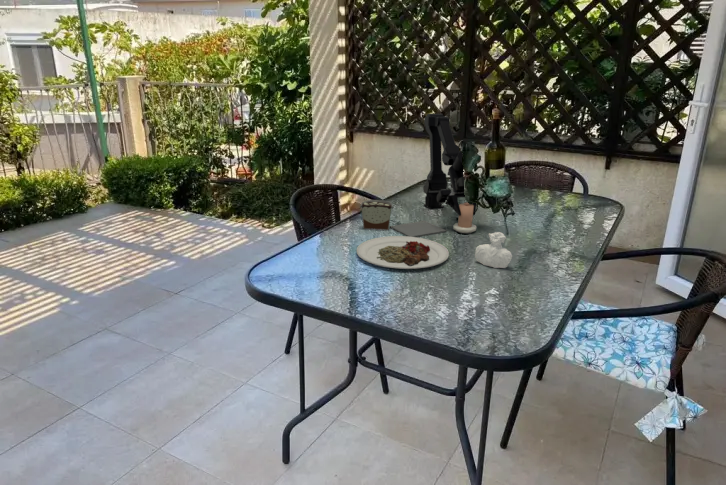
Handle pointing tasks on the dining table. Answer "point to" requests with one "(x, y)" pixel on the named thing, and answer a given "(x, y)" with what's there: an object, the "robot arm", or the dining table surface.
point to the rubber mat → (417, 229)
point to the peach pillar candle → (465, 215)
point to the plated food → (402, 252)
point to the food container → (376, 214)
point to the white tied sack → (494, 252)
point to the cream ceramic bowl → (464, 230)
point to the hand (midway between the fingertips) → (467, 214)
